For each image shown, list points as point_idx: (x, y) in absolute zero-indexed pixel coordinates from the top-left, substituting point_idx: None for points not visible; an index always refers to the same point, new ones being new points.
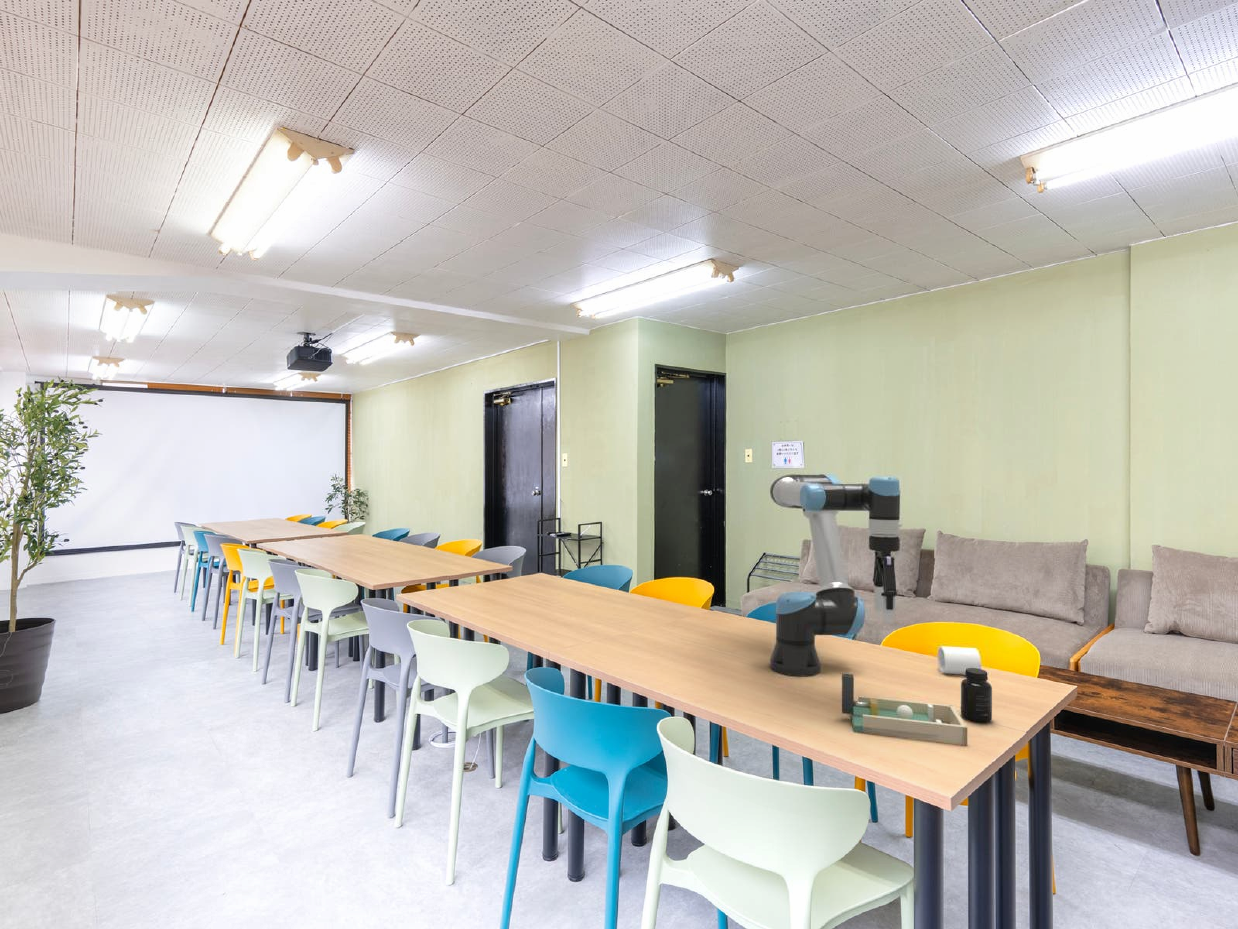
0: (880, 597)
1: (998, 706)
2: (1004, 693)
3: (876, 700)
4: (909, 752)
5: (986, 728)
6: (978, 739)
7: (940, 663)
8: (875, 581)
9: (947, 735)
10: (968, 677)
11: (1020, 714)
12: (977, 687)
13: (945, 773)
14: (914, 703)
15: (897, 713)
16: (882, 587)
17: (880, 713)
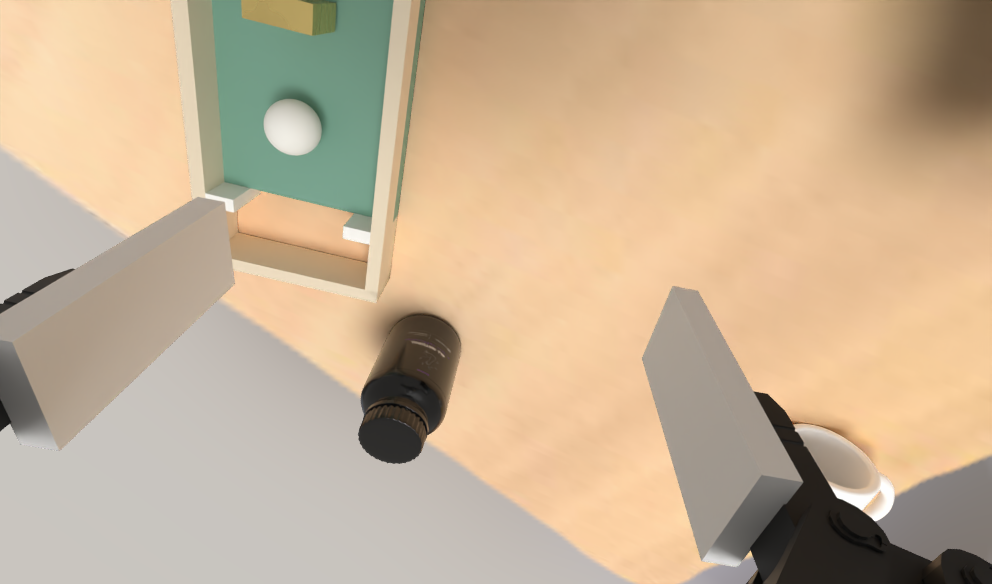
0: (685, 417)
1: (520, 426)
2: (614, 477)
3: (282, 25)
4: (105, 49)
5: (361, 334)
6: (280, 284)
7: (845, 447)
8: (782, 566)
9: None
10: (380, 403)
11: (470, 441)
12: (362, 397)
13: (8, 101)
14: (375, 194)
15: (284, 99)
16: (716, 539)
17: (349, 53)
